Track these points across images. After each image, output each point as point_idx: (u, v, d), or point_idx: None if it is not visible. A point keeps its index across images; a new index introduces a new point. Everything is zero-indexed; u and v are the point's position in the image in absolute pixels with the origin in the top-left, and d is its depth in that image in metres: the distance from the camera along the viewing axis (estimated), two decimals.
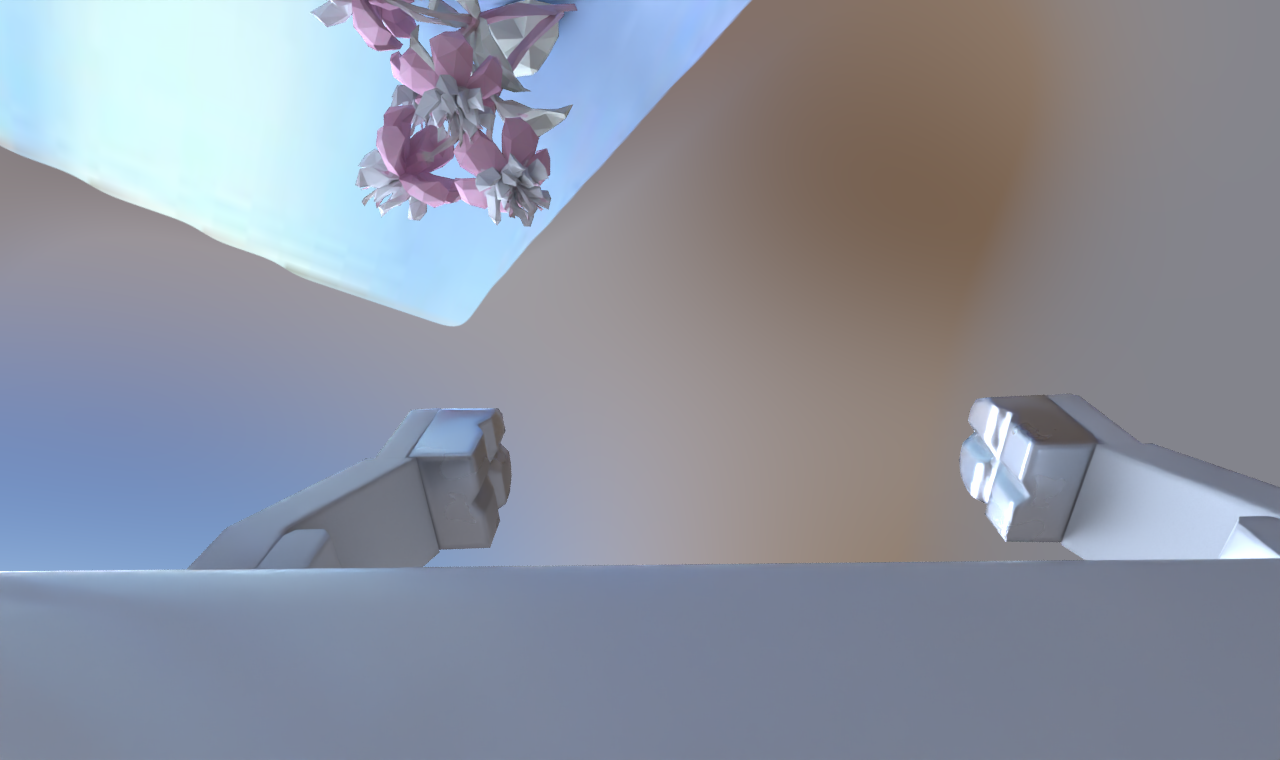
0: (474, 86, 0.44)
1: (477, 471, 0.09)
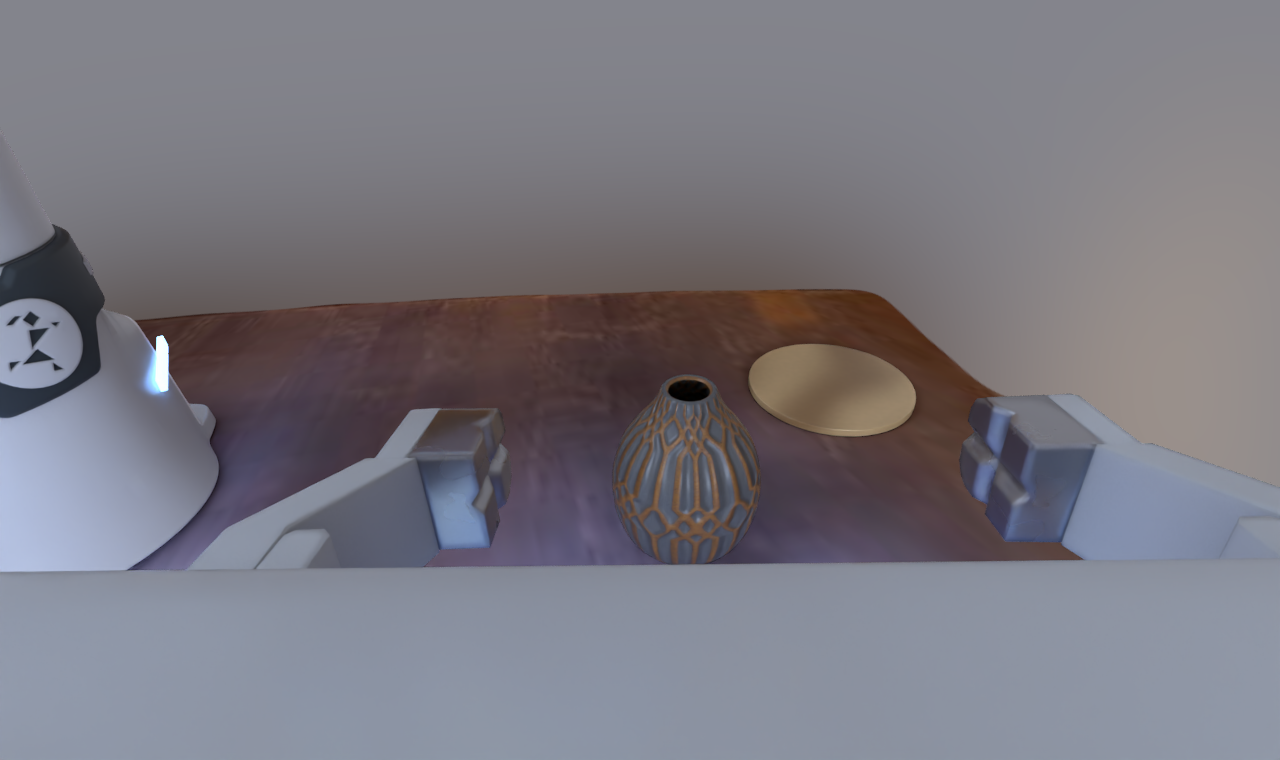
0: None
1: (477, 471, 0.09)
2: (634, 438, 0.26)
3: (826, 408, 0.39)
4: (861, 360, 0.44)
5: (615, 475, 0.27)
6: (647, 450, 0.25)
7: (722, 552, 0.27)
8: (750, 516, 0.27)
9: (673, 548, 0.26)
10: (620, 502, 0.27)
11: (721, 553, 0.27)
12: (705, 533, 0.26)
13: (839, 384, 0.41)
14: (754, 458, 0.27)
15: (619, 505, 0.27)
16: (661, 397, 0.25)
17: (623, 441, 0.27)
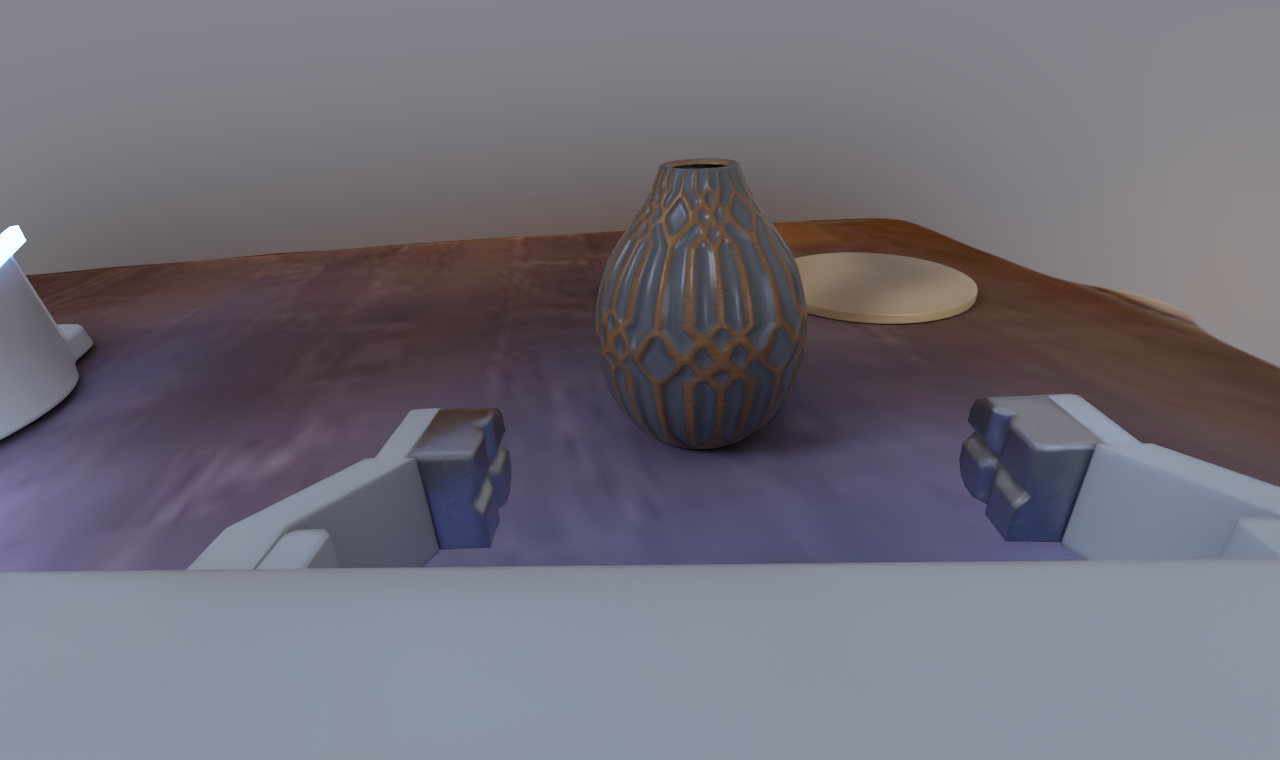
0: None
1: (478, 470, 0.09)
2: (623, 246, 0.18)
3: (868, 298, 0.31)
4: (900, 261, 0.36)
5: (598, 310, 0.19)
6: (643, 251, 0.17)
7: (759, 412, 0.18)
8: (796, 357, 0.18)
9: (687, 401, 0.18)
10: (607, 345, 0.19)
11: (757, 414, 0.18)
12: (734, 369, 0.17)
13: (878, 280, 0.33)
14: (797, 271, 0.18)
15: (606, 352, 0.19)
16: (660, 176, 0.18)
17: (608, 261, 0.19)
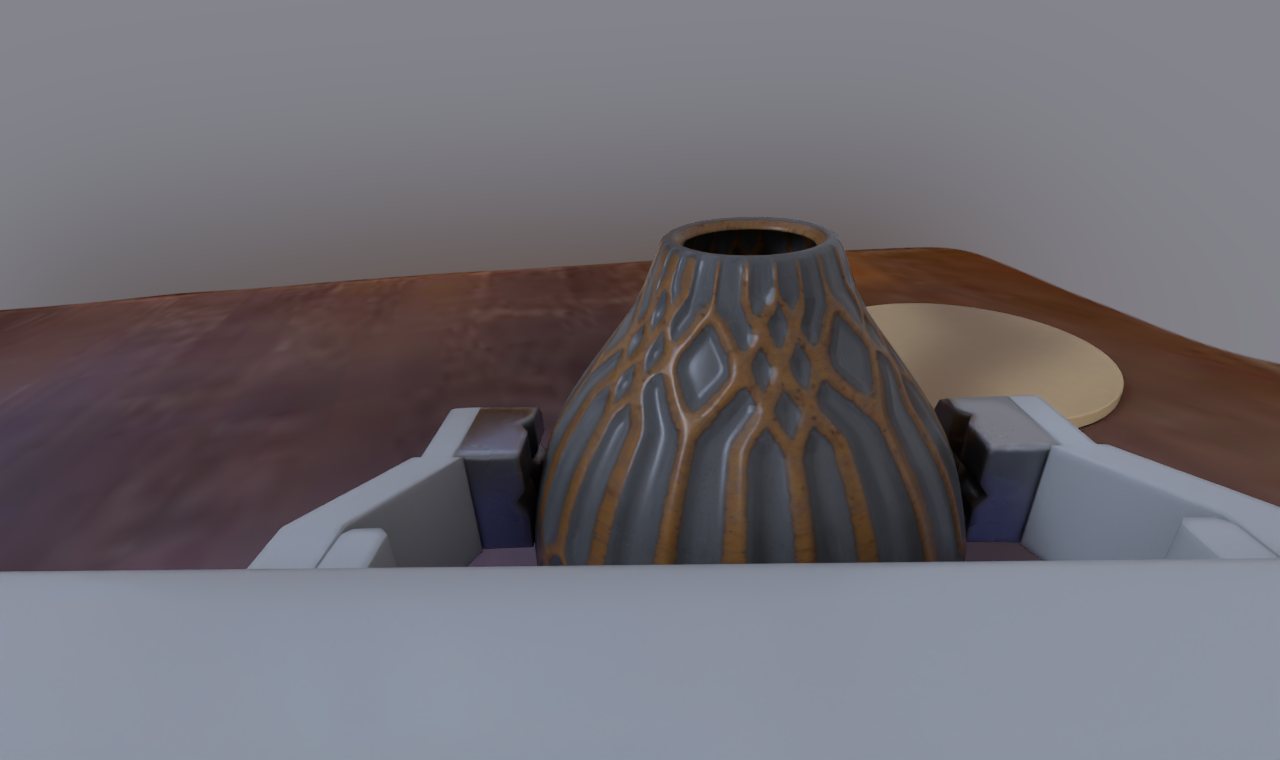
0: None
1: (523, 470, 0.09)
2: (585, 408, 0.09)
3: (965, 388, 0.21)
4: (989, 320, 0.26)
5: (537, 526, 0.09)
6: (625, 437, 0.08)
7: None
8: None
9: None
10: None
11: None
12: None
13: (969, 353, 0.23)
14: (952, 455, 0.09)
15: None
16: (664, 264, 0.08)
17: (557, 424, 0.09)
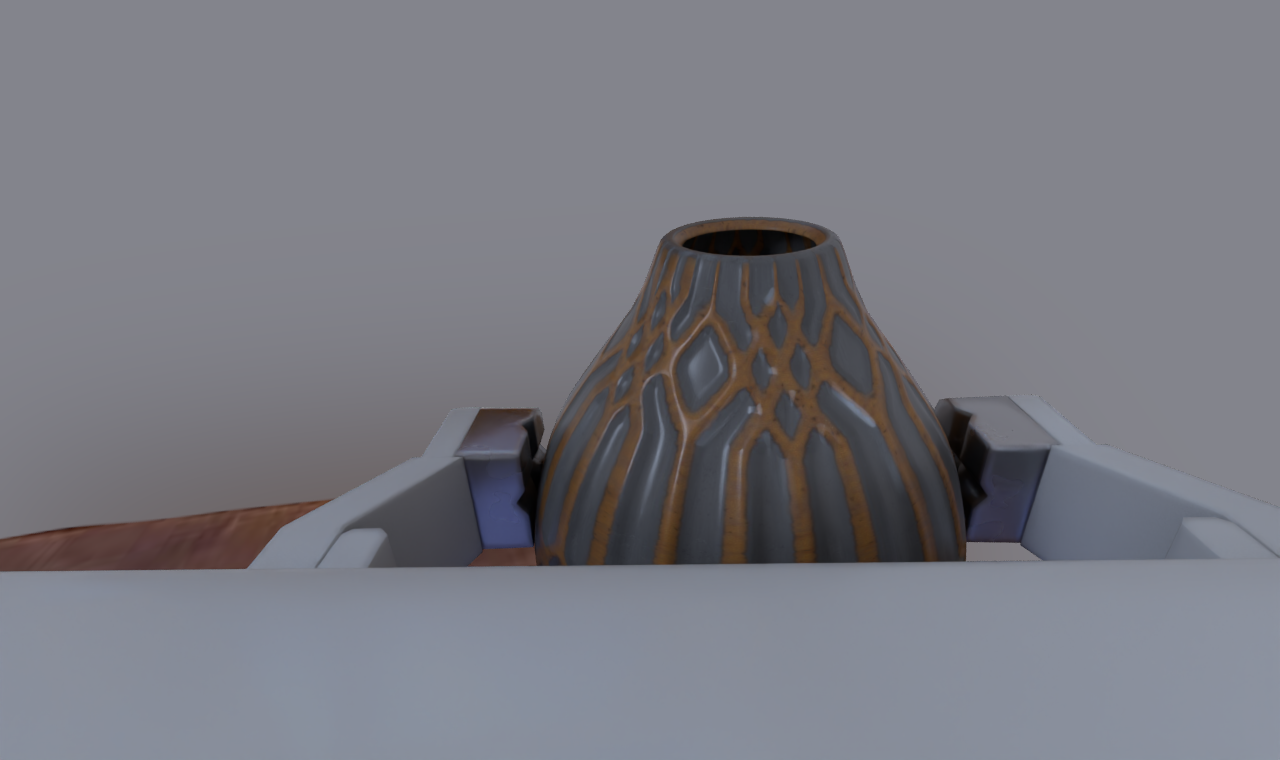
0: None
1: (523, 470, 0.09)
2: (584, 408, 0.09)
3: None
4: None
5: (537, 527, 0.09)
6: (625, 438, 0.08)
7: None
8: None
9: None
10: None
11: None
12: None
13: None
14: (952, 456, 0.09)
15: None
16: (662, 265, 0.08)
17: (557, 425, 0.09)
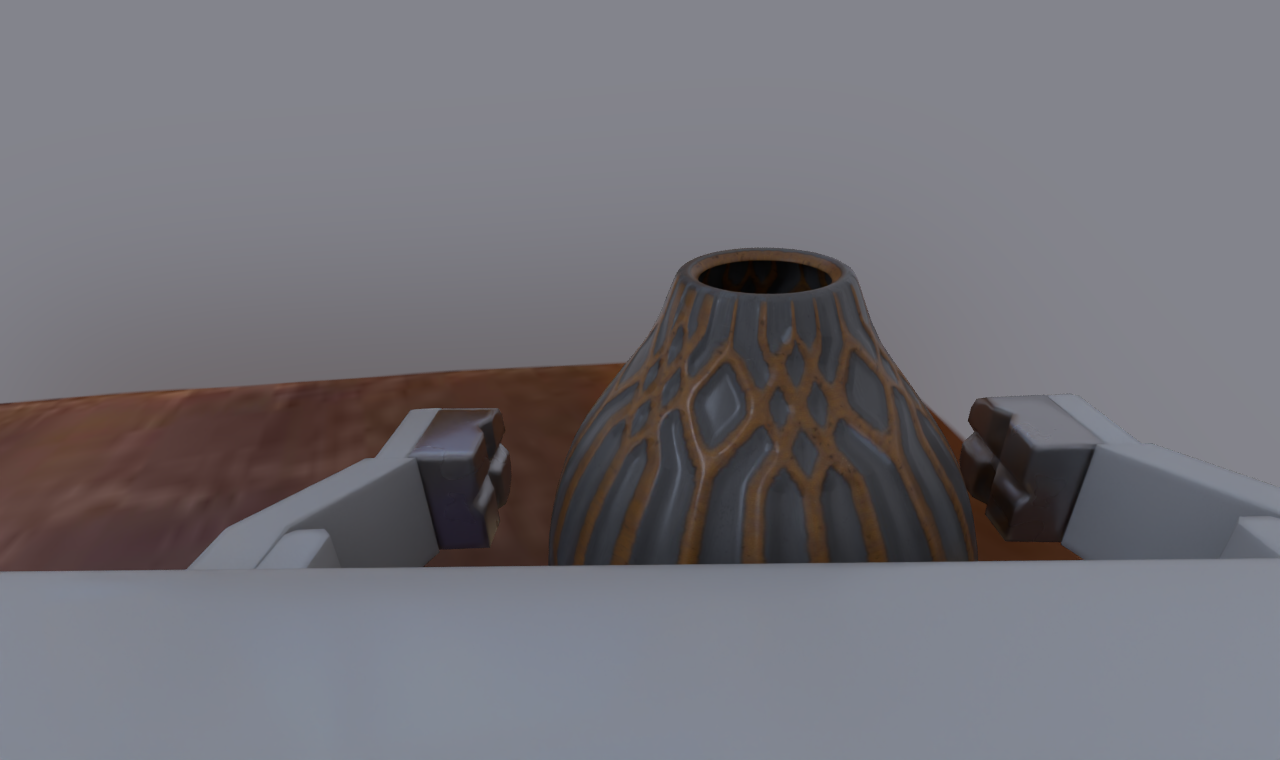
0: None
1: (477, 470, 0.09)
2: (600, 439, 0.09)
3: None
4: None
5: (551, 554, 0.09)
6: (642, 472, 0.08)
7: None
8: None
9: None
10: None
11: None
12: None
13: None
14: (965, 486, 0.09)
15: None
16: (680, 299, 0.08)
17: (571, 453, 0.09)
